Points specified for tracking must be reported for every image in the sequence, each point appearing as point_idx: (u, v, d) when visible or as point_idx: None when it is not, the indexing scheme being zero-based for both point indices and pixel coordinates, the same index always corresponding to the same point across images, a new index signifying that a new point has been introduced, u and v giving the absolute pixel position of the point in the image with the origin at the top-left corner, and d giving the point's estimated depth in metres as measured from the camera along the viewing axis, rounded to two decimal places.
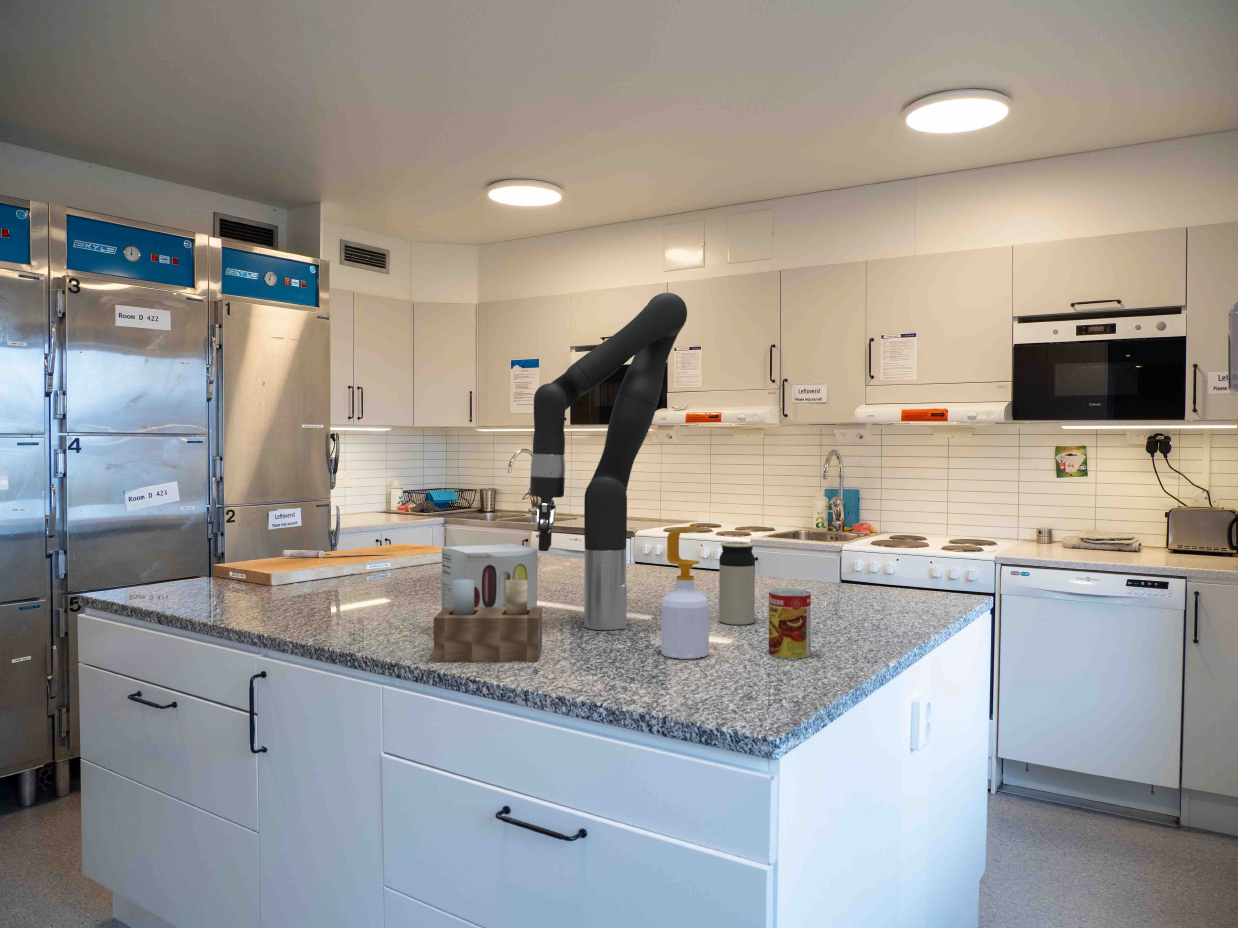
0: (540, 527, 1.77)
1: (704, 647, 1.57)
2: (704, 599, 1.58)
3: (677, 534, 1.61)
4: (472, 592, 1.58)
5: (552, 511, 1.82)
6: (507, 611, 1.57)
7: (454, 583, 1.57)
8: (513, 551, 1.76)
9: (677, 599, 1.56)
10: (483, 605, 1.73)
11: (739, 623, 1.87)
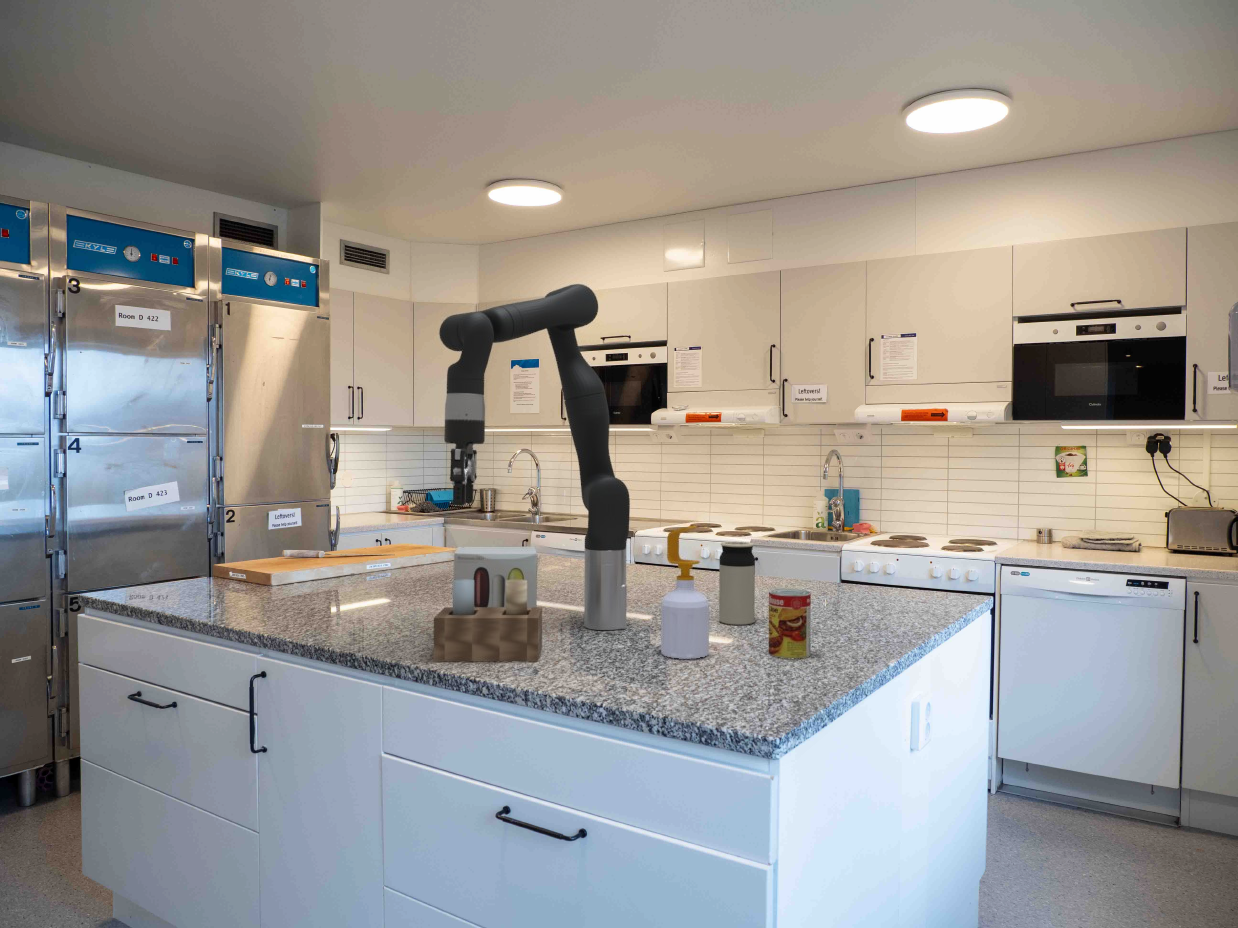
0: (453, 477, 1.52)
1: (704, 647, 1.57)
2: (704, 599, 1.58)
3: (677, 534, 1.61)
4: (472, 592, 1.58)
5: (469, 459, 1.57)
6: (507, 611, 1.57)
7: (454, 583, 1.57)
8: (508, 554, 1.71)
9: (677, 599, 1.56)
10: None
11: (739, 623, 1.87)
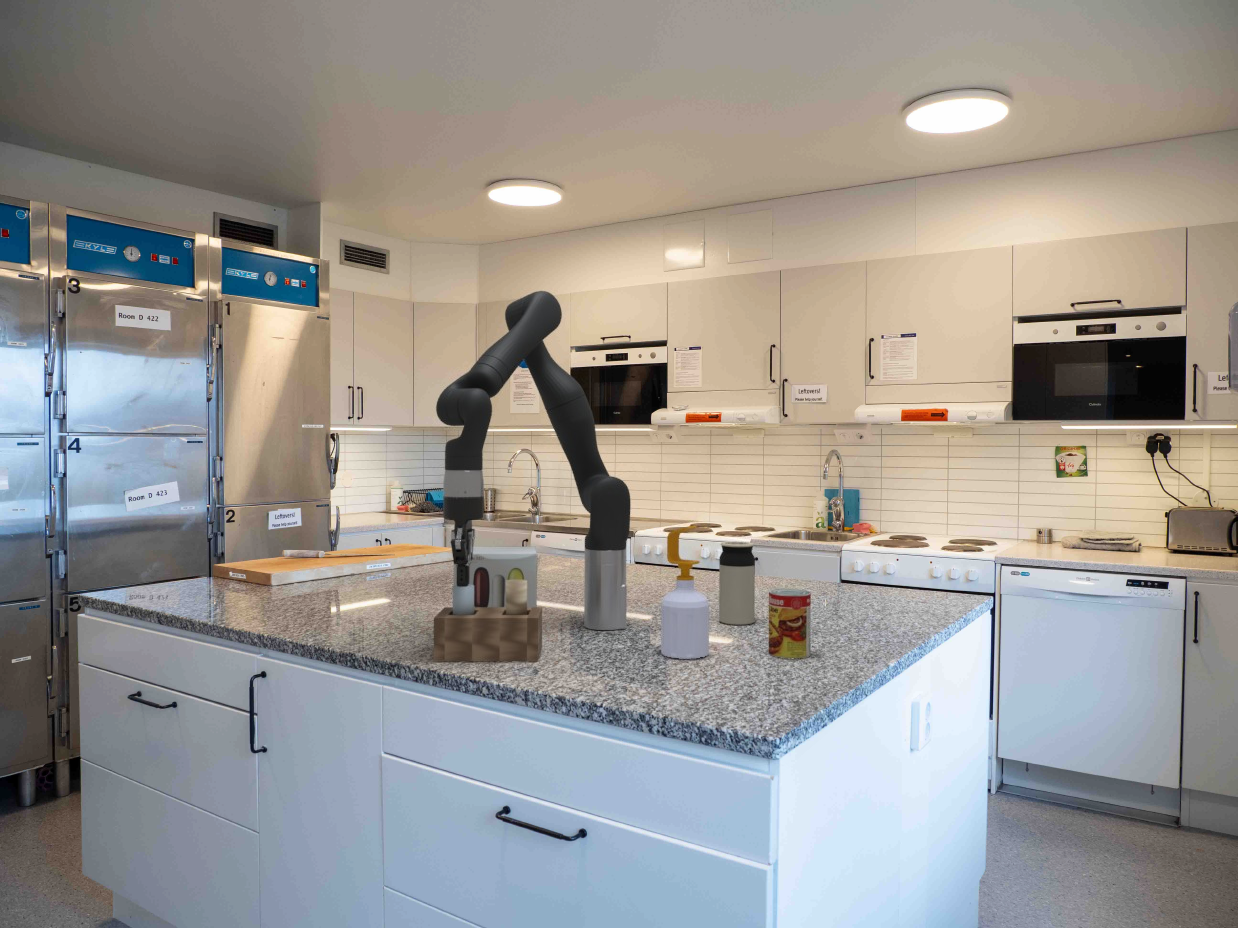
0: (456, 560, 1.55)
1: (704, 647, 1.57)
2: (704, 599, 1.58)
3: (677, 534, 1.61)
4: (472, 597, 1.58)
5: (469, 539, 1.57)
6: (507, 611, 1.57)
7: (454, 588, 1.57)
8: (508, 554, 1.71)
9: (677, 599, 1.56)
10: None
11: (739, 623, 1.87)
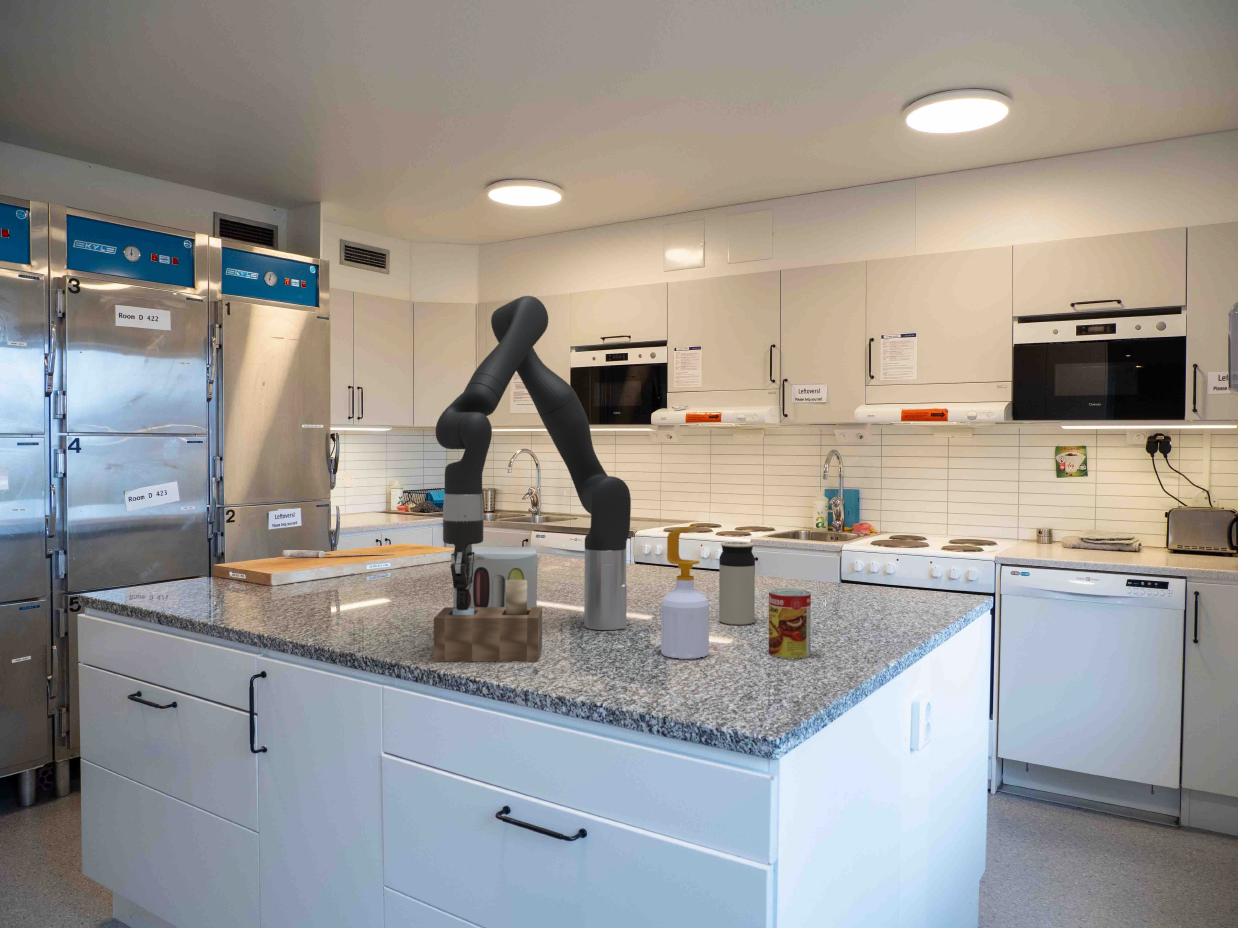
0: (456, 584, 1.55)
1: (704, 647, 1.57)
2: (704, 599, 1.58)
3: (677, 534, 1.61)
4: None
5: (469, 563, 1.57)
6: (507, 611, 1.57)
7: (454, 612, 1.57)
8: (508, 554, 1.71)
9: (677, 599, 1.56)
10: None
11: (739, 623, 1.87)
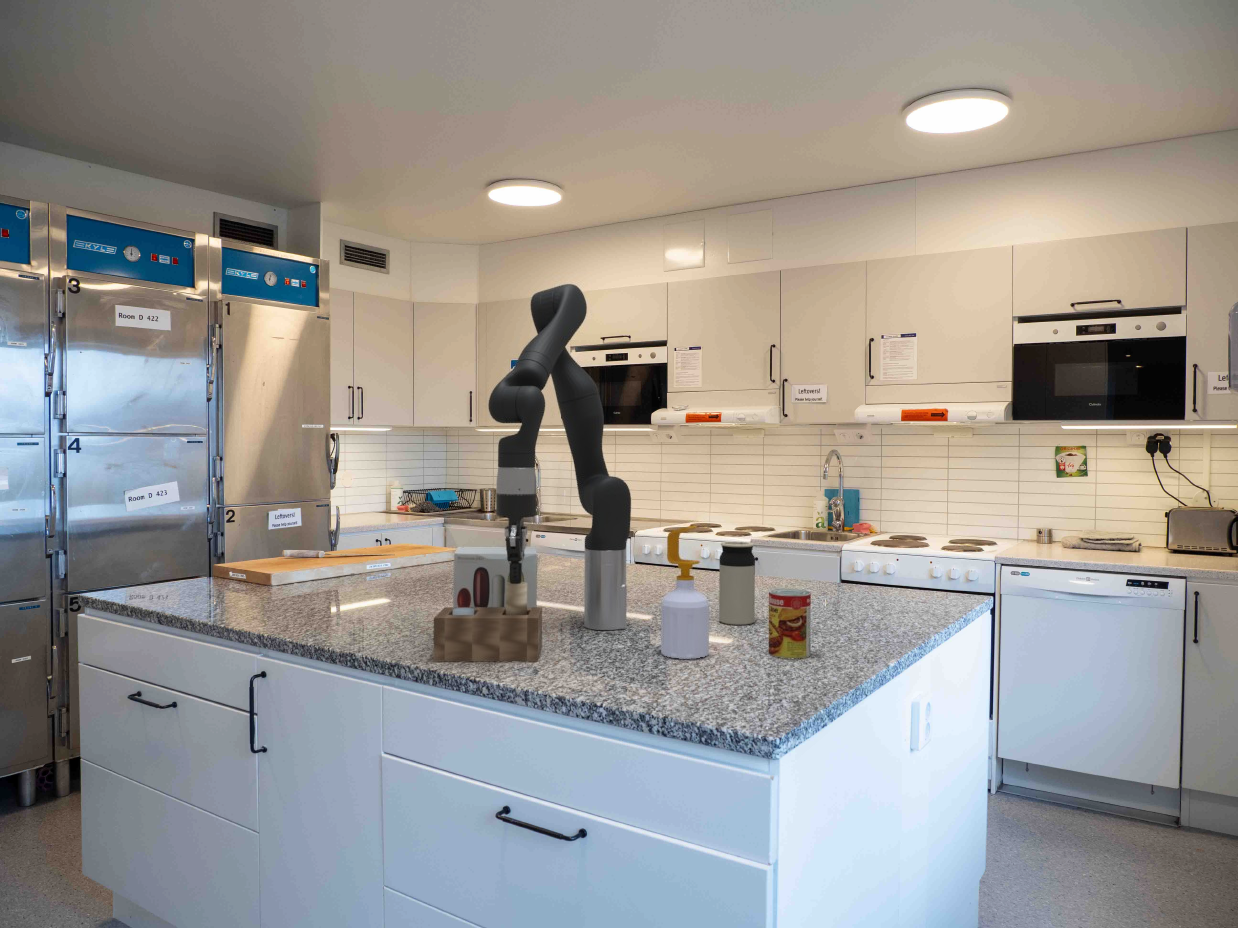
0: (510, 557, 1.55)
1: (704, 647, 1.57)
2: (704, 599, 1.58)
3: (677, 534, 1.61)
4: None
5: (523, 536, 1.57)
6: (507, 613, 1.57)
7: (454, 612, 1.57)
8: None
9: (677, 599, 1.56)
10: None
11: (739, 623, 1.87)
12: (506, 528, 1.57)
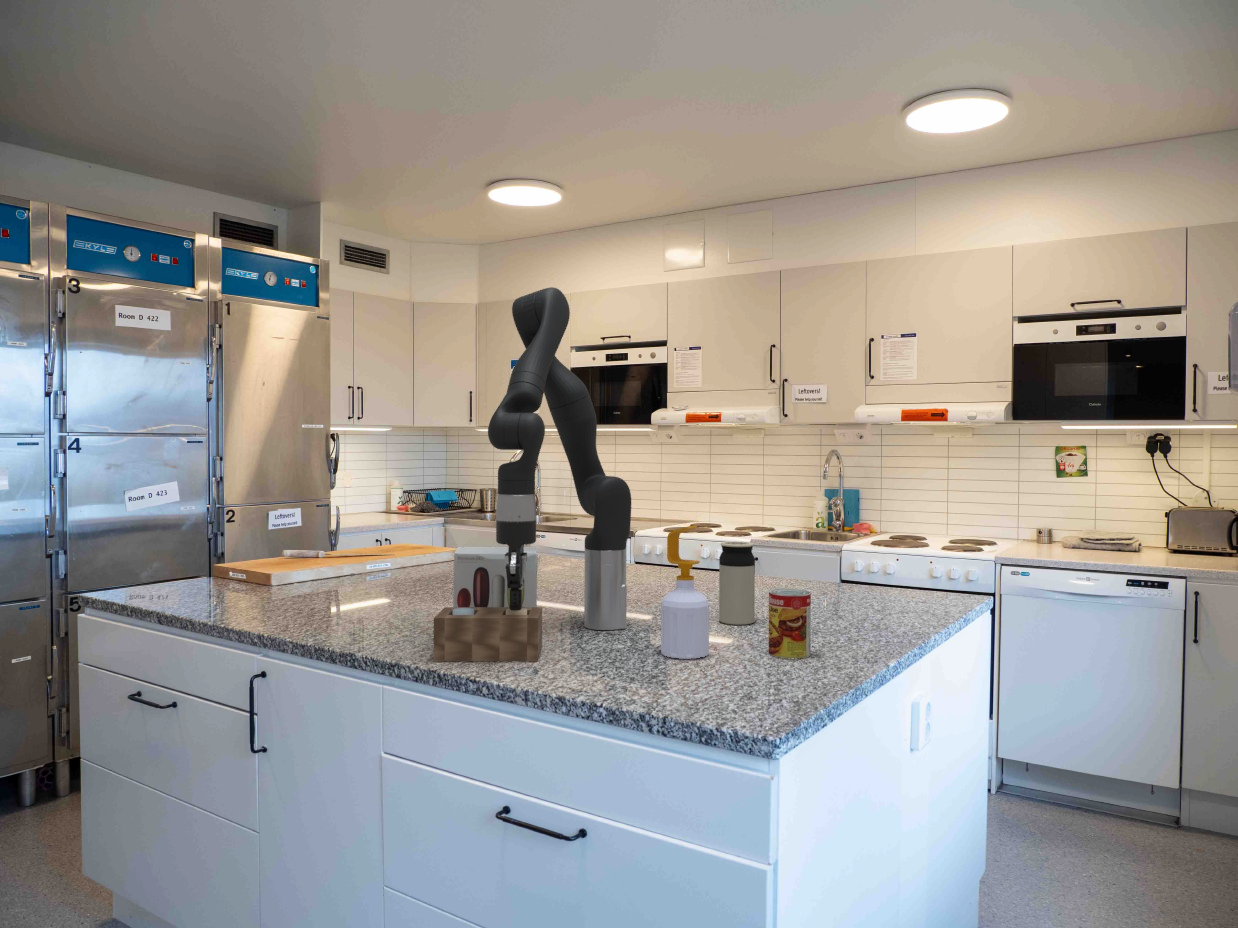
0: (510, 584, 1.56)
1: (704, 647, 1.57)
2: (704, 599, 1.58)
3: (677, 534, 1.61)
4: None
5: (523, 563, 1.57)
6: None
7: (454, 612, 1.57)
8: None
9: (677, 599, 1.56)
10: None
11: (739, 623, 1.87)
12: (506, 555, 1.57)
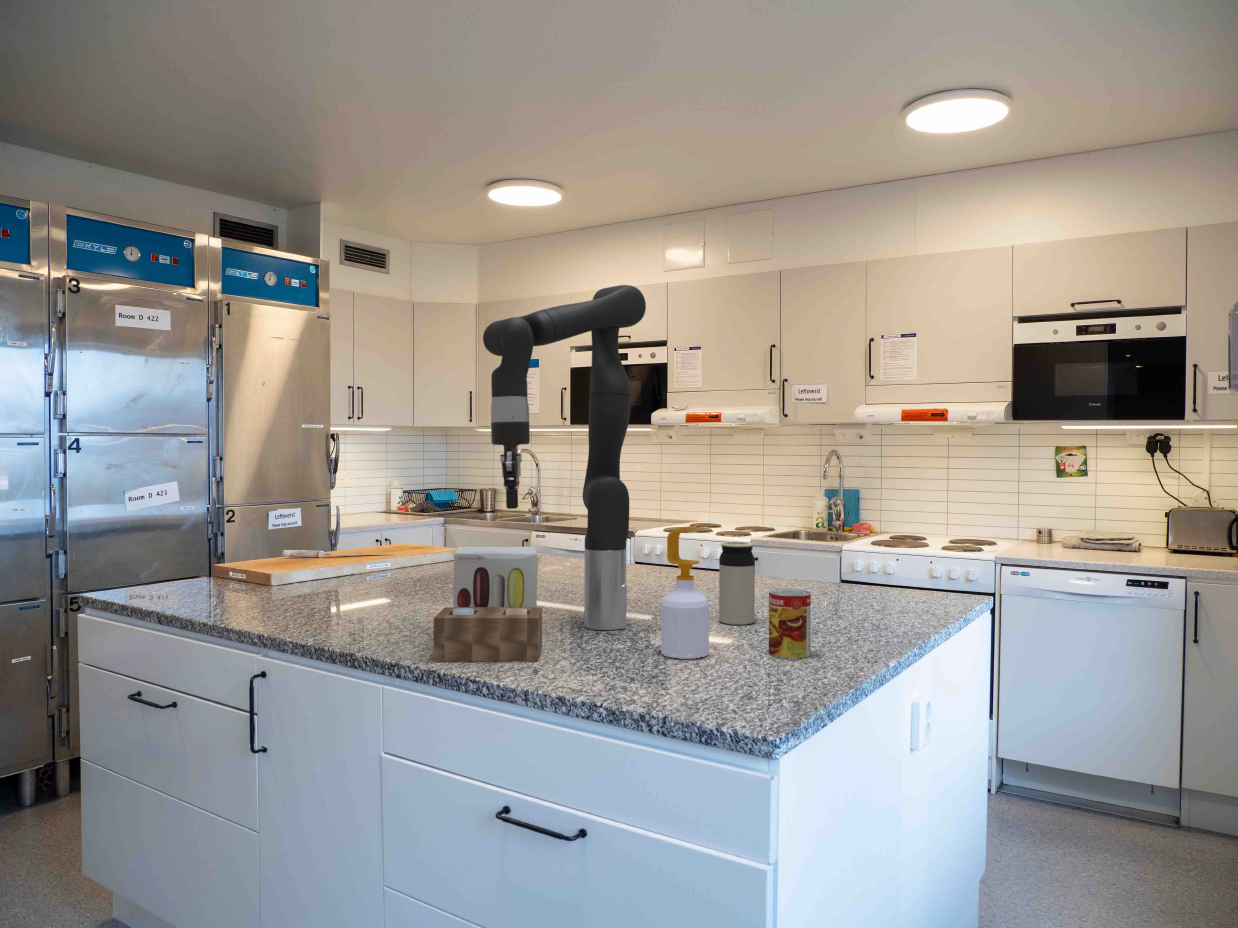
0: (506, 482, 1.62)
1: (704, 647, 1.57)
2: (704, 599, 1.58)
3: (677, 534, 1.61)
4: None
5: (518, 463, 1.64)
6: None
7: (454, 612, 1.57)
8: (508, 554, 1.71)
9: (677, 599, 1.56)
10: None
11: (739, 623, 1.87)
12: (501, 455, 1.64)
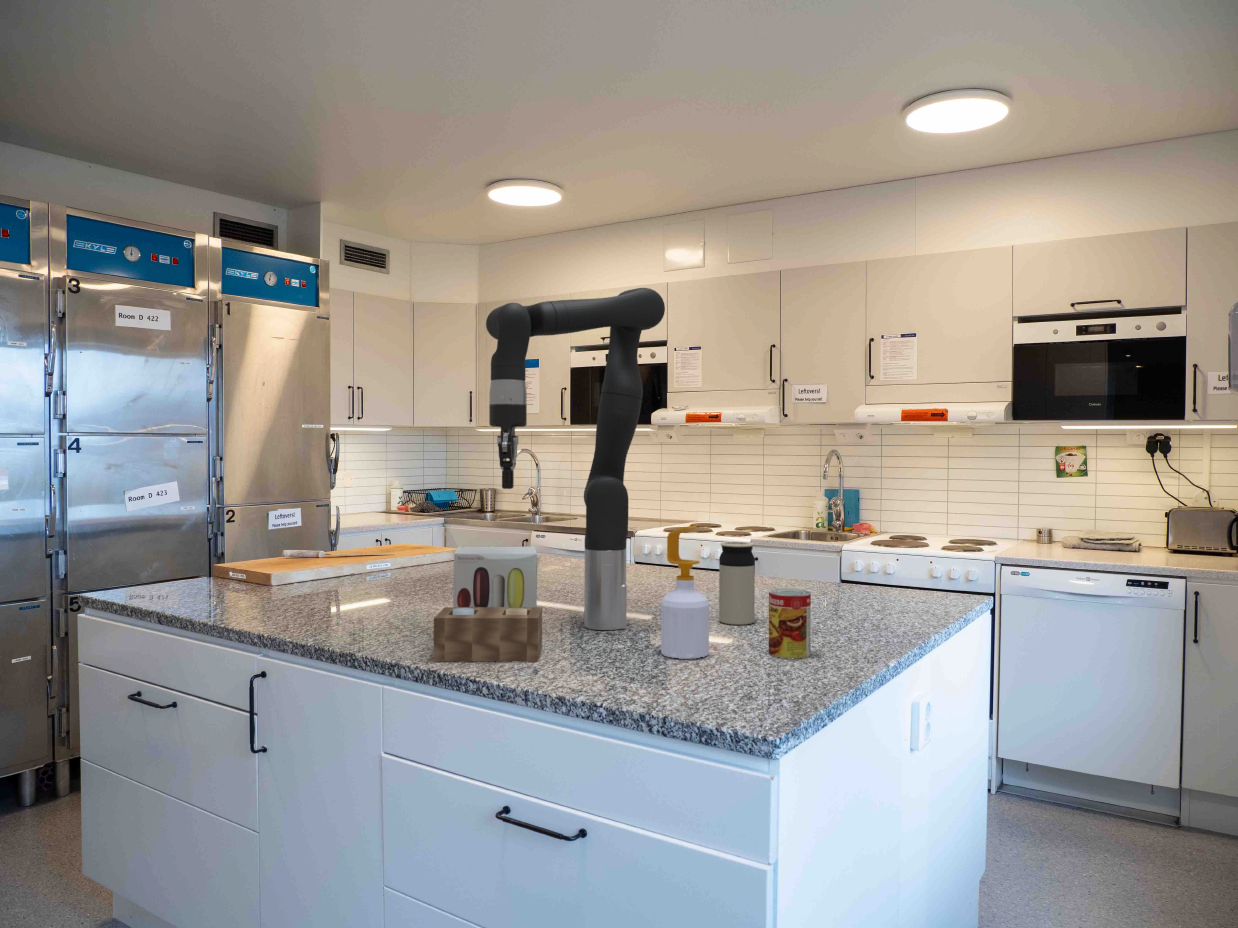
0: (502, 463, 1.67)
1: (704, 647, 1.57)
2: (704, 599, 1.58)
3: (677, 534, 1.61)
4: None
5: (514, 444, 1.69)
6: None
7: (454, 612, 1.57)
8: (508, 554, 1.71)
9: (677, 599, 1.56)
10: None
11: (739, 623, 1.87)
12: (498, 436, 1.69)
